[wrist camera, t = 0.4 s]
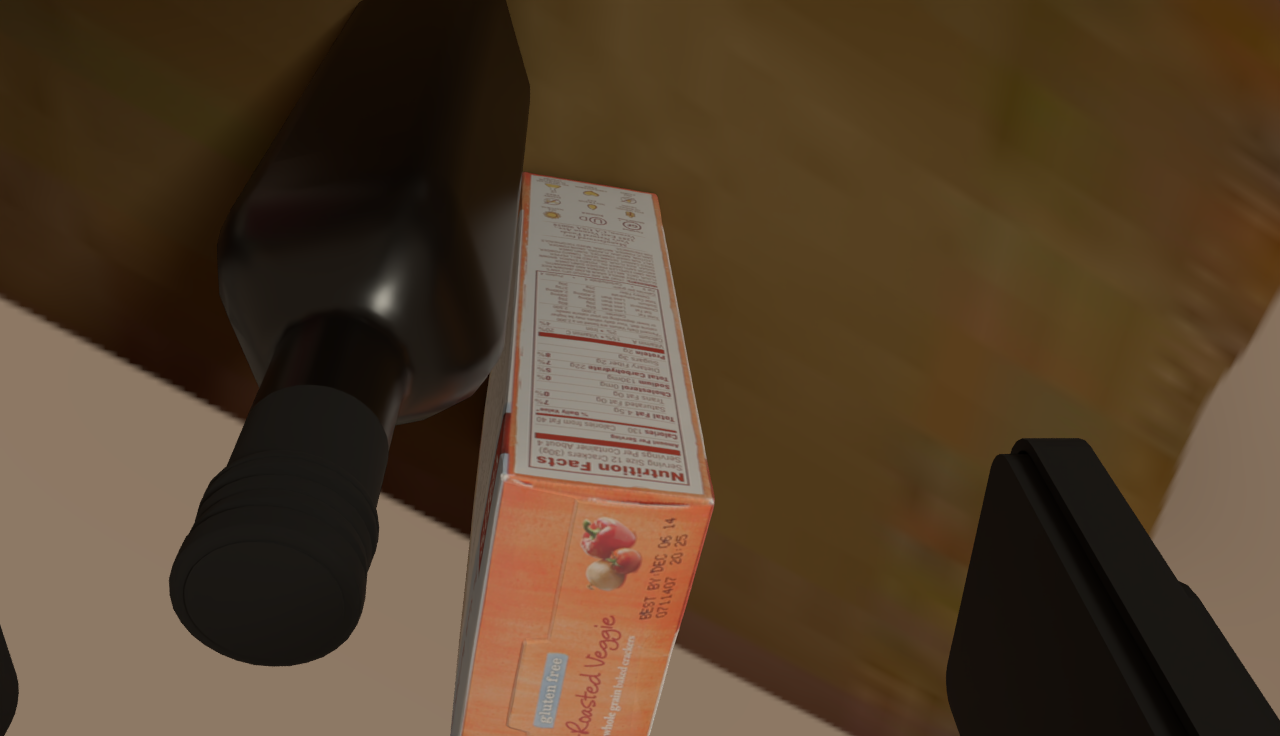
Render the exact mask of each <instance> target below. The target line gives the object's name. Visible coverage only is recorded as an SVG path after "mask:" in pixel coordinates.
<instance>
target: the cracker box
mask: <svg viewBox="0 0 1280 736" xmlns="http://www.w3.org/2000/svg"><path fill="white" fill-rule="evenodd" d="M714 501H715V498H714V492H713V487H712V483H711V478H710V473H709V469H708V464H707V459H706V454H705V448H704V441H703V435H702V430H701V425H700V420H699V415H698V410H697V405H696V400H695V395H694V390H693V385H692V379H691V374H690V368H689V363H688V358H687V353H686V347H685V342H684V336H683V331H682V326H681V320H680V315H679V309H678V304H677V299H676V293H675V288H674V282H673V277H672V272H671V266H670V261H669V256H668V251H667V245H666V240H665V234H664V230H663V226H662V221H661V213H660V207H659V203H658V198H657V195H656V194H654V193H647V192H641V191H635V190H630V189H624V188H618V187H612V186H606V185H600V184H594V183H588V182H581V181H575V180H569V179H563V178H556V177H551V176H544V175H537V174H532V173H527V172H524V173H522V181H521V191H520V200H519V210H518V219H517V229H516V238H515V248H514V257H513V267H512V276H511V286H510V295H509V305H508V315H507V324H506V334H505V343H504V348H503V351H502V353H501V355H500V358H499V360H498V362H497V363H496V365H495V366H494V367H493V369H492V370H491V372H490V375H489V382H488V389H487V396H486V403H485V410H484V418H483V426H482V434H481V442H480V450H479V460H478V469H477V478H476V487H475V496H474V505H473V515H472V525H471V535H470V545H469V556H468V564H467V573H466V583H465V592H464V601H463V612H462V621H461V631H460V639H459V649H458V660H457V671H456V682H455V692H454V703H453V714H452V724H451V734H450V736H650V732H651V729H652V725H653V721H654V718H655V714H656V710H657V707H658V703H659V699H660V696H661V692H662V688H663V685H664V681H665V676H666V673H667V669H668V665H669V661H670V657H671V654H672V650H673V647H674V644H675V641H676V637H677V634H678V631H679V628H680V624H681V621H682V618H683V614H684V611H685V608H686V605H687V601H688V598H689V594H690V591H691V587H692V583H693V580H694V576H695V573H696V569H697V565H698V562H699V558H700V555H701V551H702V548H703V544H704V541H705V537H706V533H707V530H708V526H709V522H710V519H711V515H712V512H713V508H714Z"/></svg>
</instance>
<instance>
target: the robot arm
mask: <svg viewBox="0 0 1280 736" xmlns="http://www.w3.org/2000/svg"><path fill="white" fill-rule="evenodd" d="M946 686H947V695H948V701H949V705H950V708H951V711H952V714H953V717H954V720H955V722H956V725H957V728H958V731H959V734H960V736H1280V720H1279V719H1278V717H1277V716H1276V714H1275V713H1274V711H1273V709H1272V708H1271V706H1270V705H1269V703H1268V702H1267V701H1266V699H1265V697H1264V696H1263V694H1262V693H1261V691H1260V690H1259V688H1258V687H1257V685H1256V684H1255V682H1254V681H1253V679H1252V678H1251V676H1250V675H1249V673H1248V672H1247V670H1246V669H1245V667H1244V666H1243V664H1242V663H1241V661H1240V660H1239V658H1238V657H1237V655H1236V653H1235V652H1234V650H1233V649H1232V647H1231V646H1230V645H1229V643H1228V641H1227V640H1226V638H1225V637H1224V635H1223V634H1222V632H1221V631H1220V629H1219V628H1218V626H1217V625H1216V624H1215V622H1214V620H1213V619H1212V617H1211V616H1210V614H1209V613H1208V611H1207V610H1206V608H1205V607H1204V605H1203V604H1202V602H1201V601H1200V599H1199V598H1198V596H1197V595H1196V594H1195V593H1194V592H1193V591H1192V590H1191V589H1190V587H1189V586H1188V585H1186V584H1184V583H1182V582H1180V581H1178V580H1177V578H1176V577H1175V575H1174V574H1173V572H1172V571H1171V569H1170V568H1169V566H1168V565H1167V563H1166V561H1165V560H1164V559H1163V557H1162V555H1161V554H1160V552H1159V551H1158V549H1157V548H1156V546H1155V545H1154V543H1153V541H1152V540H1151V538H1150V537H1149V535H1148V534H1147V532H1146V531H1145V529H1144V528H1143V526H1142V525H1141V523H1140V521H1139V520H1138V518H1137V517H1136V515H1135V514H1134V512H1133V511H1132V509H1131V508H1130V506H1129V505H1128V503H1127V502H1126V500H1125V498H1124V497H1123V495H1122V494H1121V492H1120V491H1119V489H1118V488H1117V486H1116V485H1115V483H1114V482H1113V480H1112V478H1111V477H1110V475H1109V474H1108V472H1107V471H1106V469H1105V468H1104V466H1103V465H1102V463H1101V462H1100V460H1099V459H1098V457H1097V455H1096V454H1095V452H1094V451H1093V449H1092V448H1091V446H1090V445H1089V444H1088V443H1087V442H1086V441H1085V440H1082V439H1079V438H1022V439H1020V440H1018V441H1017V442H1016V443H1015V445H1014V446H1013V448H1012V451H1011V454H999V455H997V456H996V457H995V459H994V460H993V463H992V466H991V469H990V474H989V478H988V483H987V487H986V492H985V496H984V501H983V505H982V510H981V515H980V519H979V524H978V528H977V533H976V537H975V542H974V546H973V551H972V555H971V560H970V564H969V569H968V573H967V578H966V583H965V587H964V592H963V596H962V601H961V605H960V610H959V614H958V619H957V623H956V628H955V632H954V637H953V641H952V646H951V650H950V655H949V660H948V664H947V671H946ZM18 691H19V690H18V680H17V675H16V672H15V669H14V666H13V663H12V660H11V657H10V654H9V651H8V648H7V644H6V641H5V638H4V635H3V632H2V629H1V626H0V736H4V735H5V733H6V731H7V729H8V728H9V726H10V724H11V722H12V719H13V717H14V715H15V711H16V707H17V702H18V694H19V692H18Z"/></svg>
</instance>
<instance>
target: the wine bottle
mask: <svg viewBox="0 0 1280 736" xmlns="http://www.w3.org/2000/svg"><path fill="white" fill-rule="evenodd" d="M529 105H530V84H529V81H528V77H527V74H526V70H525V67H524V63H523V60H522V56H521V53H520V49H519V46H518V42H517V39H516V35H515V31H514V28H513V24H512V21H511V17H510V14H509V10H508V7H507V3H506V0H363V1H361V2H360V3H359V4H358V6H357V7H356V9H355V11H354V12H353V14H352V15H351V17H350V19H349V20H348V22H347V23H346V25H345V27H344V28H343V30H342V31H341V33H340V35H339V36H338V38H337V40H336V41H335V43H334V44H333V46H332V48H331V49H330V51H329V52H328V54H327V56H326V57H325V59H324V60H323V62H322V64H321V65H320V67H319V68H318V70H317V72H316V73H315V75H314V77H313V78H312V80H311V81H310V83H309V85H308V86H307V88H306V89H305V91H304V93H303V94H302V96H301V97H300V99H299V101H298V102H297V104H296V105H295V107H294V109H293V110H292V112H291V114H290V115H289V117H288V118H287V120H286V122H285V123H284V125H283V126H282V128H281V130H280V131H279V133H278V134H277V136H276V138H275V139H274V141H273V142H272V144H271V146H270V147H269V149H268V151H267V152H266V154H265V155H264V157H263V159H262V160H261V162H260V163H259V165H258V167H257V168H256V170H255V171H254V173H253V175H252V176H251V178H250V179H249V181H248V183H247V184H246V186H245V188H244V189H243V191H242V192H241V194H240V196H239V197H238V199H237V200H236V202H235V204H234V205H233V207H232V208H231V210H230V212H229V214H228V216H227V218H226V220H225V222H224V224H223V226H222V228H221V231H220V235H219V239H218V244H217V259H218V279H219V295H220V297H221V300H222V302H223V305H224V307H225V310H226V312H227V315H228V317H229V320H230V322H231V325H232V327H233V329H234V331H235V334H236V336H237V338H238V340H239V343H240V345H241V347H242V350H243V352H244V354H245V356H246V359H247V361H248V363H249V365H250V368H251V370H252V372H253V375H254V377H255V379H256V381H257V384H258V386H259V390H258V393H257V395H256V397H255V400H254V402H253V405H252V407H251V409H250V412H249V414H248V417H247V419H246V421H245V424H244V426H243V428H242V431H241V433H240V436H239V438H238V440H237V443H236V445H235V448H234V450H233V452H232V455H231V457H230V459H229V462H228V464H227V467H225V468H224V469H223V470H222V471H221V472H220V473H219V474H218V475H217V476H215V477H214V478H213V479H212V480H211V482H210V484H209V485H208V488H207V489H206V491H205V493H204V496H203V498H202V500H201V502H200V505H199V509H198V512H197V516H196V519H195V523H194V525H193V527H192V529H191V531H190V533H189V534H188V535H187V536H186V538H185V540H184V542H183V544H182V546H181V548H180V550H179V552H178V554H177V556H176V559H175V561H174V563H173V566H172V570H171V574H170V577H169V587H170V598H171V601H172V605H173V609H174V611H175V612H176V614H177V616H178V618H179V619H180V621H181V623H182V624H183V625H184V626H185V627H186V629H187V630H188V631H189V632H190V633H191V635H193V636H194V637H195V638H197V639H198V640H199V641H201V642H202V643H203V644H204V645H206V646H208V647H209V648H211V649H213V650H215V651H216V652H218V653H220V654H222V655H225V656H227V657H229V658H232V659H235V660H237V661H241V662H245V663H249V664H253V665H263V666H292V665H297V664H302V663H307V662H310V661H313V660H316V659H319V658H322V657H324V656H325V655H327V654H329V653H330V652H332V651H334V650H335V649H337V648H338V647H339V646H340V645H341V644H343V643H344V642H345V641H346V640H347V639H348V638H349V636H350V635H351V633H352V632H353V630H354V629H355V627H356V625H357V624H358V621H359V619H360V616H361V613H362V610H363V605H364V601H365V594H366V582H367V572H368V570H369V567H370V565H371V562H372V559H373V556H374V554H375V551H376V547H377V543H378V535H379V522H378V515H377V510H376V507H377V503H378V499H379V495H380V491H381V487H382V482H383V478H384V474H385V470H386V466H387V462H388V453H389V448H390V444H391V440H392V436H393V432H394V428H395V425H400V424H405V423H410V422H415V421H420V420H424V419H426V418H428V417H430V416H433V415H435V414H437V413H439V412H441V411H443V410H445V409H447V408H449V407H451V406H453V405H455V404H457V403H459V402H461V401H463V400H465V399H467V398H469V397H471V396H472V395H473V394H474V393H475V391H476V390H477V389H478V388H479V386H480V385H481V384H482V383H483V382H484V380H485V379H486V378H487V376H488V375H489V373H490V372H491V370H492V369H493V367H494V366H495V365H496V363H497V362H498V360H499V358H500V355H501V353H502V351H503V348H504V343H505V334H506V324H507V315H508V305H509V295H510V286H511V276H512V267H513V257H514V248H515V238H516V229H517V219H518V210H519V200H520V191H521V181H522V171H523V162H524V152H525V143H526V133H527V124H528V114H529Z"/></svg>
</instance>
